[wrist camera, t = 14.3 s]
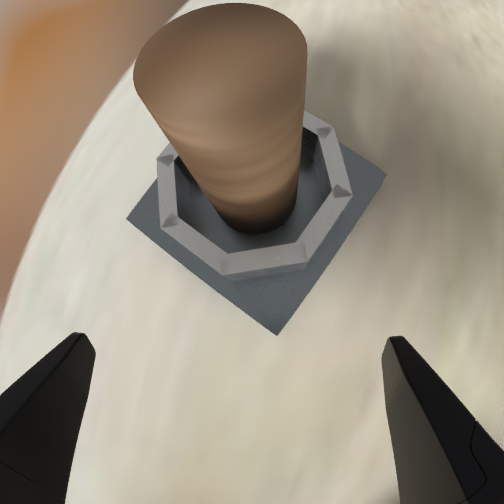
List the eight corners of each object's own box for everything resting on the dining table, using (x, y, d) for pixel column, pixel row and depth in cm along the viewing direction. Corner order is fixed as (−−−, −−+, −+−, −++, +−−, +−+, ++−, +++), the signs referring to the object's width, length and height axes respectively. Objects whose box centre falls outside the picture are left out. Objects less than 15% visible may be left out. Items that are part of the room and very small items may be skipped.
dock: (382, 180, 20) (401, 153, 16) (277, 334, 19) (275, 340, 15) (238, 95, 22) (230, 59, 18) (132, 222, 21) (103, 204, 17)
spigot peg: (312, 184, 19) (339, 35, 8) (264, 251, 19) (231, 154, 7) (246, 144, 20) (208, -9, 8) (198, 204, 20) (102, 83, 8)
